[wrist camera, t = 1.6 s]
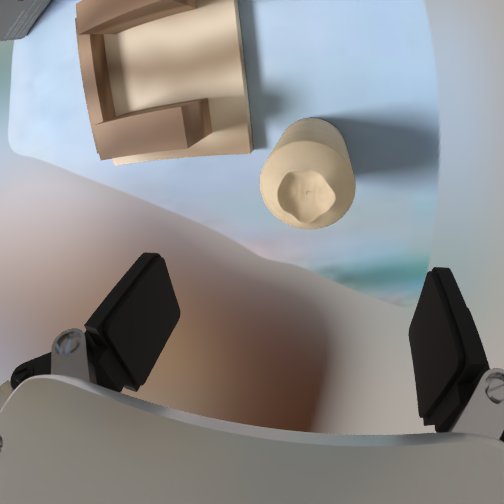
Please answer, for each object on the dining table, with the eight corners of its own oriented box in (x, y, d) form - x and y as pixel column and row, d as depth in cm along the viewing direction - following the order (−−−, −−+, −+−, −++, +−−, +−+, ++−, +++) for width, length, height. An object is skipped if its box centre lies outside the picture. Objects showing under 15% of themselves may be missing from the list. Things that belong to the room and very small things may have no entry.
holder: (95, 2, 18) (51, 0, 13) (232, -43, 15) (205, -69, 10) (120, 161, 28) (82, 185, 23) (253, 149, 25) (233, 174, 20)
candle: (348, 120, 21) (364, 153, 13) (342, 183, 25) (349, 247, 17) (280, 114, 22) (253, 143, 14) (279, 176, 26) (254, 236, 18)
